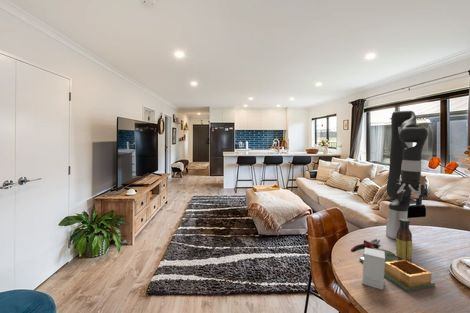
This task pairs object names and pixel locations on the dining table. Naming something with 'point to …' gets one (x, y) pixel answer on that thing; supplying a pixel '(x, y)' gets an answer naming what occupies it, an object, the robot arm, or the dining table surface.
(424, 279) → the chute mount
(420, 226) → the dining table surface
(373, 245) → the pliers
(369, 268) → the supplement box
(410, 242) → the sauce bottle
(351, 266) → the dining table surface
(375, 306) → the dining table surface
